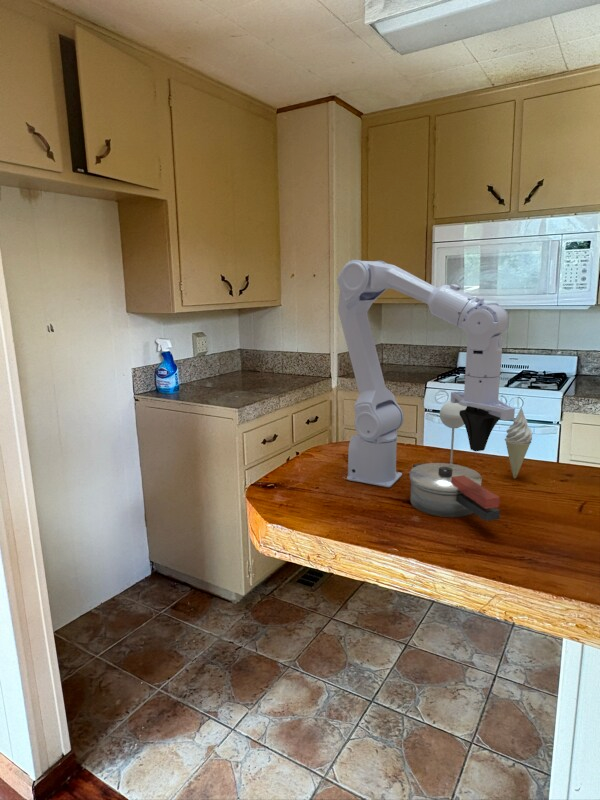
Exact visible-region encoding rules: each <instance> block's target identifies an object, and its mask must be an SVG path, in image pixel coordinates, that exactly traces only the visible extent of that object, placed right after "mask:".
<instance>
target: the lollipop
mask: <svg viewBox="0 0 600 800" xmlns="http://www.w3.org/2000/svg"><path fill="white" fill-rule="evenodd" d="M466 407H467V406H462V405H459V403H452V402H451V400H450V401H447V402H445V403H444V404H443V405H442V406H441V408H440V410H439V419H440V421H441V423H442V424H443V425H444V426H445V427H447V428H449V429H451V444H450V459H449V460H450V461H449V464H453V459H454V458H453V457H454V455H453V454H454V442H455V441H454V440H455V429H458V428H459V429H460V428H461V427H463V426H465V424H464V422H463V420H462V418H461V416H460V415H459V413H460V411H461V410H465V409H466Z"/></svg>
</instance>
